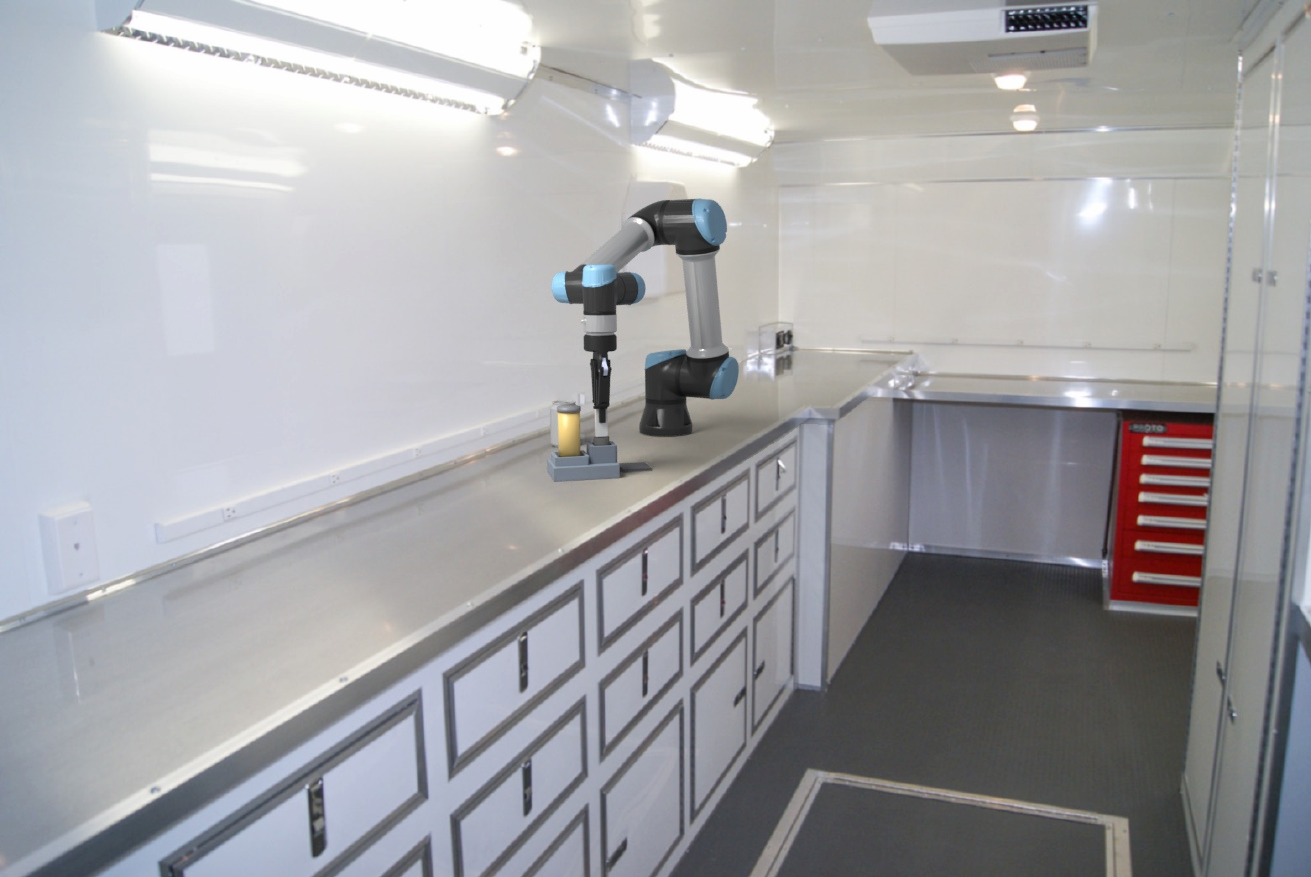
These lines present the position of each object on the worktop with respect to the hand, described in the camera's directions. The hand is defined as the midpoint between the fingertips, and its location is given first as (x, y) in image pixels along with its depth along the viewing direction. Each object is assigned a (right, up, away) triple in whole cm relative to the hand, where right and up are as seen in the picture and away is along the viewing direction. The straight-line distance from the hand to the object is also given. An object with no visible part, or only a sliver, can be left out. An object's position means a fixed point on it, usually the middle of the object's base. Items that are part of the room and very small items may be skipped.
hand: (601, 435), depth 238 cm
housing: (-4, -9, +1) cm, 10 cm away
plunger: (0, -5, +1) cm, 5 cm away
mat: (+7, -8, +7) cm, 13 cm away
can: (-12, -3, +35) cm, 37 cm away
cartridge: (-7, -6, -1) cm, 9 cm away
